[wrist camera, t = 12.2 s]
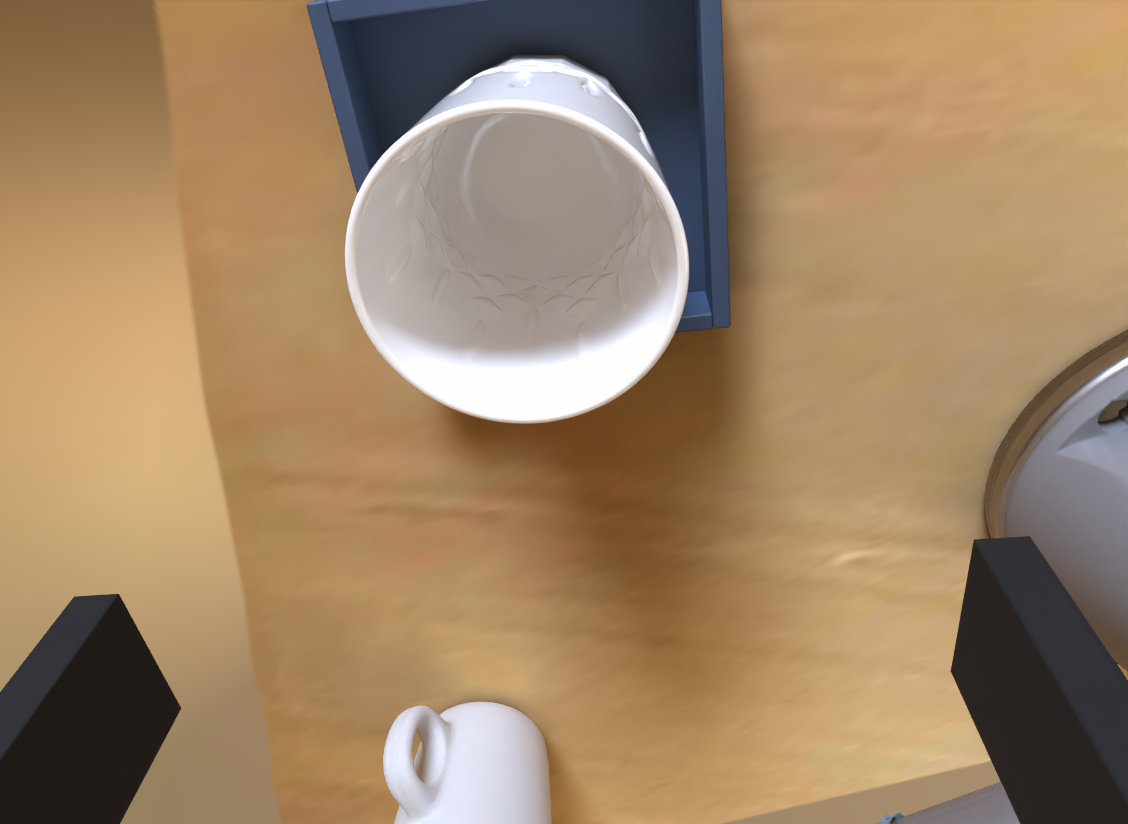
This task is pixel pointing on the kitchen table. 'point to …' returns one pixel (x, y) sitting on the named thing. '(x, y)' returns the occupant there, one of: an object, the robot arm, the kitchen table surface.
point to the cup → (468, 766)
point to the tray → (550, 27)
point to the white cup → (520, 246)
